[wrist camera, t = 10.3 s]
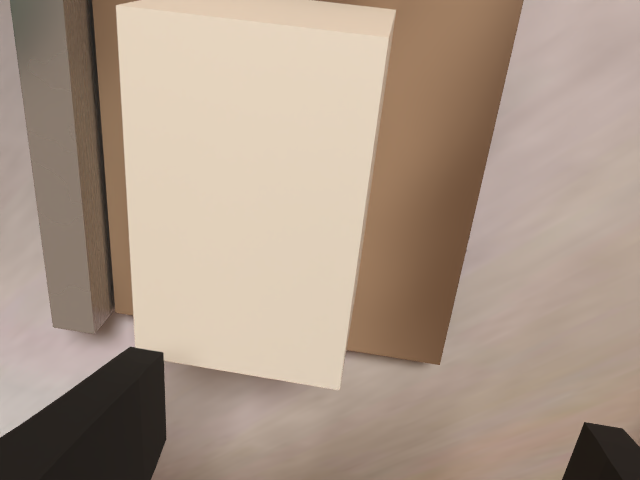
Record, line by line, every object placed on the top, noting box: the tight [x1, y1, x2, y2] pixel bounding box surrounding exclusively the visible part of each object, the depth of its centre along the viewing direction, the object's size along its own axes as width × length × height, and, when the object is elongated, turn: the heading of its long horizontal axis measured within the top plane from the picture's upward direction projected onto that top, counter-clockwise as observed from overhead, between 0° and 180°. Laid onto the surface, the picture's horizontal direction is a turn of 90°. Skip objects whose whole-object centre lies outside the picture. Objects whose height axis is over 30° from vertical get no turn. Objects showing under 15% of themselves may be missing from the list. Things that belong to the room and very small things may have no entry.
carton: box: [116, 0, 396, 390], centre depth 15 cm, size 8×5×5 cm, turn 175°
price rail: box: [10, 0, 115, 334], centre depth 17 cm, size 2×13×2 cm, turn 175°
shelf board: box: [92, 0, 524, 365], centre depth 18 cm, size 11×13×1 cm
